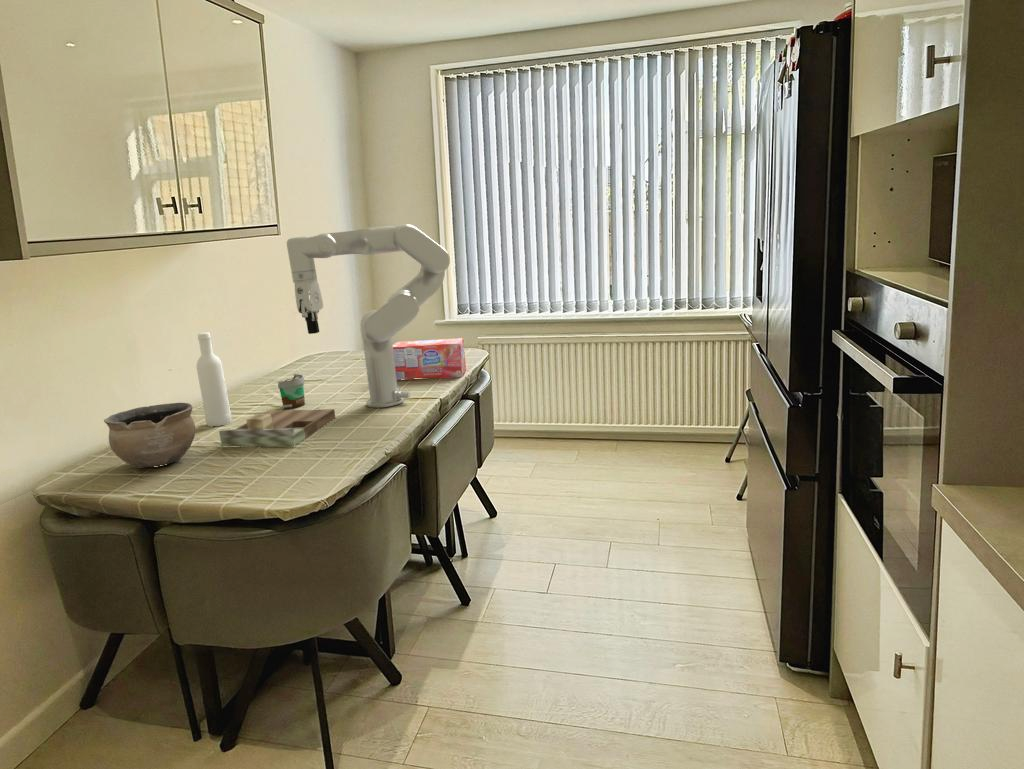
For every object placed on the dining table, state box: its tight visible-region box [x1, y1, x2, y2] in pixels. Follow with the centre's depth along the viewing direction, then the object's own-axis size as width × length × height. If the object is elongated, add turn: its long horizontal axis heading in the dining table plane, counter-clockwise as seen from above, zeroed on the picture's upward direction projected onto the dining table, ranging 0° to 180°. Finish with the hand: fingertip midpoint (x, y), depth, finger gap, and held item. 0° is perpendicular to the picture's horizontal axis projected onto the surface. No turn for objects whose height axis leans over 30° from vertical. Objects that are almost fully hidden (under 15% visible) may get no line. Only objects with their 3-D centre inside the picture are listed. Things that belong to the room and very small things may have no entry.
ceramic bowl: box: [103, 402, 196, 468], centre depth 208 cm, size 22×22×15 cm
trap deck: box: [219, 408, 336, 448], centre depth 230 cm, size 23×28×5 cm
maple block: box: [245, 413, 273, 429], centre depth 219 cm, size 5×5×5 cm
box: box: [393, 337, 467, 381], centre depth 291 cm, size 27×13×14 cm, turn 87°
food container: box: [277, 373, 306, 411], centre depth 261 cm, size 12×6×10 cm, turn 168°
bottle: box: [196, 331, 233, 427], centre depth 243 cm, size 8×8×30 cm
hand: (313, 332), depth 244 cm, fingers closed
